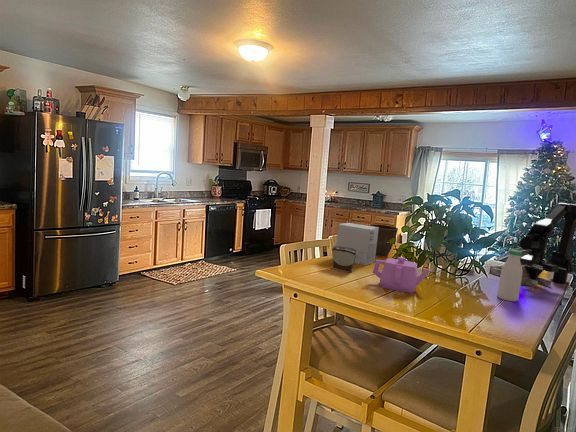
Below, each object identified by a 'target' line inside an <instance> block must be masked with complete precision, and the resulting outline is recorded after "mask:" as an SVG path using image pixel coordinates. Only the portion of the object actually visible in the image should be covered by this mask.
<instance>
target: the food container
mask: <svg viewBox="0 0 576 432" xmlns="http://www.w3.org/2000/svg"><path fill="white" fill-rule="evenodd" d="M331 251H332V269H334V270H338V271H342V272H345V273H350V274H351V273H353V270H354V266H355V263H354V262H355V258H356V256H358V253H357V250H356V249H354V248H350V247H343V246H336V245H334V246H332V247H331Z"/></svg>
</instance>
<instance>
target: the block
mask: <svg viewBox="0 0 576 432" xmlns="http://www.w3.org/2000/svg"><path fill="white" fill-rule="evenodd" d="M525 266H526V265H524V266H522V271H523V272H522V278H525V277H526V278H529V279H531V278H530V273H529V270H528V269H527V268H526V267H525Z"/></svg>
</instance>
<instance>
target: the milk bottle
mask: <svg viewBox="0 0 576 432" xmlns="http://www.w3.org/2000/svg"><path fill="white" fill-rule="evenodd" d="M522 254H523V252H522V251H521V250H517V249H509V250H508V257H507V259H506V261H505V262H504V263H503V265H502V266H503V267H502V270H501V274H500V276H499V280H498V285H497V287H498V288H497V292H496V293H497V294H496V296H497V298H499V299H501V300H504V301H508V302H518V300H519V296H520V293H521V292H520V290H521V286H522V285H521V280H522V272H523V271H522V267H523V266H522V262H521V263H520V257H522Z"/></svg>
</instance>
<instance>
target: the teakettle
mask: <svg viewBox="0 0 576 432" xmlns="http://www.w3.org/2000/svg"><path fill="white" fill-rule="evenodd" d="M380 265H383V267H382V270H380ZM430 272H431V269H429V268H425V269H424V270H423V271H422V272H421V273H419V274H418V265H417V262H414V261H409V260H406V257H402V256H397V258H387V259H386V260H383V259H375V262H374V265H373V270H372V273H373V274H374V275H375V276H377V277H378V278H379V286H380V288H383V289H387V290H392V291H397V292H400V293H401V292H402V293H407V294H408V293H409V294H414V292H416V288H417V286H418V285H419V284H420V283H421V282H422V281H423V280H424V279H425V277H426V276H427V275H428V274H429V273H430Z"/></svg>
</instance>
